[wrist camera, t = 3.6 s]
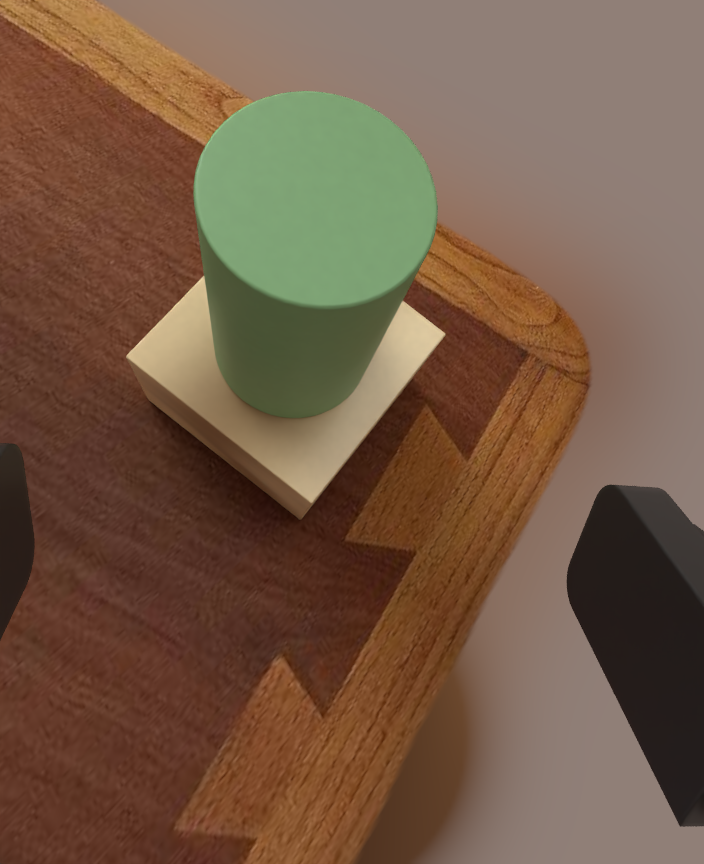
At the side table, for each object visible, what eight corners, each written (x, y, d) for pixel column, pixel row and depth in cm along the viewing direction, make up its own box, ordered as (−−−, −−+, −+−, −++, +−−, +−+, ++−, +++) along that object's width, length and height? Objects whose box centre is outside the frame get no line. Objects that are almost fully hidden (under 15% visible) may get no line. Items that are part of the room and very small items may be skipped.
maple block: (413, 377, 29) (446, 333, 24) (300, 520, 27) (311, 504, 22) (271, 266, 29) (275, 201, 24) (147, 399, 27) (125, 356, 22)
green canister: (397, 337, 24) (483, 189, 15) (305, 450, 22) (341, 358, 14) (281, 246, 24) (299, 48, 15) (180, 352, 22) (138, 199, 14)
